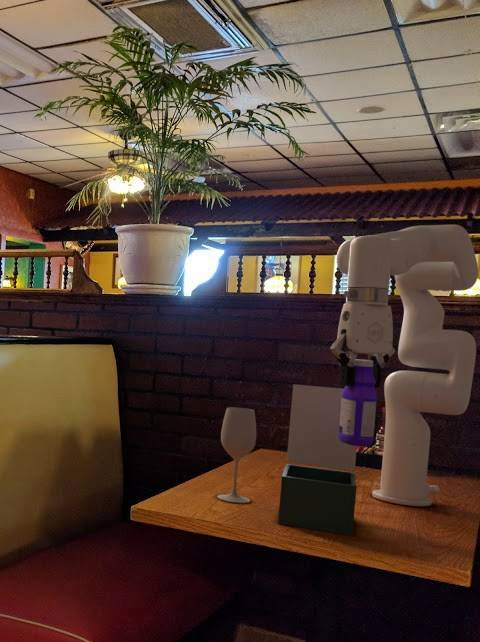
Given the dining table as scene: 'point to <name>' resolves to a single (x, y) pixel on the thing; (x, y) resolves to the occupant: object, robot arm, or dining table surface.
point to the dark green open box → (318, 499)
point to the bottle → (359, 407)
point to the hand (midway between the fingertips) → (359, 385)
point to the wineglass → (238, 442)
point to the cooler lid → (318, 429)
